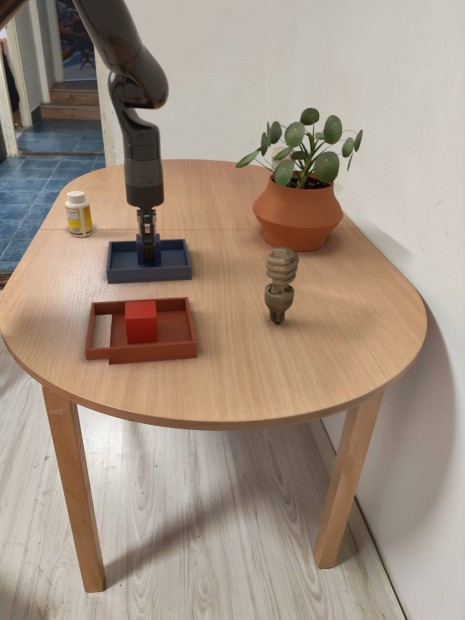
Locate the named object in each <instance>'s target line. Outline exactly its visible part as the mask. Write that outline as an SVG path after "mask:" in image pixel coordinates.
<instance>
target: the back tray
mask: <svg viewBox="0 0 465 620" xmlns="http://www.w3.org/2000/svg"><path fill="white" fill-rule="evenodd" d="M160 242H161V261H162V264H149V265H138V260H137V247H136V239H135V240H109V241H108V250H107V260H106V270H105V272H106V281H107V285H108V284H126V283H128V284H129V283H145V282H146V283H147V282H166V281H185V280H188V281H189V280H192V279H193V265H192V262H191V258H190V253H189V249H188V245H187V241H186V238H170V239H169V238H168V239H165V238H163V239H160Z"/></svg>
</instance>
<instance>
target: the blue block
mask: <svg viewBox="0 0 465 620" xmlns="http://www.w3.org/2000/svg"><path fill="white" fill-rule="evenodd" d="M135 240H136V247H137V260H138V265H149V264H145V263H144V252H143V247H142V237H141V236H140V235H139V233H136V234H135ZM160 240H161V235H160V232H156V236H154V243H155V248H154V257H155V262H154V263H153V264H162V261H161V242H160ZM145 242H152V240H145Z"/></svg>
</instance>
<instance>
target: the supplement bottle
mask: <svg viewBox="0 0 465 620" xmlns="http://www.w3.org/2000/svg"><path fill="white" fill-rule="evenodd" d="M85 195H86V194H85V192H84V191H82V190H72V191H68V192H67V193H66V199H67V200H66V201H65V202H64V206H65V207H64V208H65V213H66V218H67V219H66V220H67V226H68V231H69V234H70V235H71V236H72V237H75V238H85V237H89V236H91V235H92V234H93V232H94V227H93V220H92V219H93V218H92V213H91V212H92V211H91V205H90V201H89V200H88V199H86V196H85Z"/></svg>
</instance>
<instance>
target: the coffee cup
mask: <svg viewBox="0 0 465 620" xmlns="http://www.w3.org/2000/svg"><path fill="white" fill-rule="evenodd" d="M286 148H288V146H277V147H273V149H272V151H271V152H270V156H271V170H272V171H273V172H274V171H275V169H276V167H277V166H278V165H279V164H280V163H282V162H290V163H291V164H292V165H293V167H294V168H295V166H296V163H295V162H297V160H295V162H294V161H293V159H291V158H290V155H291V154H292V153H293V152H292V151H291V152H290V153H289V154H290V155H289V154H288V155H287V156H286V157H285V158H283V159H281V160H277V161H274V160H273V159H274V157H275V156H276V155H277V154H278V153H279V152H281V151H282V150H284V149H286ZM293 151H294V152H295V151H297V149H295V148H293ZM272 166H273V167H274V168H275V169H274V168H273V167H272ZM294 168H293V170H295V169H294ZM272 174H274V173H272V172H271V175H272Z"/></svg>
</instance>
